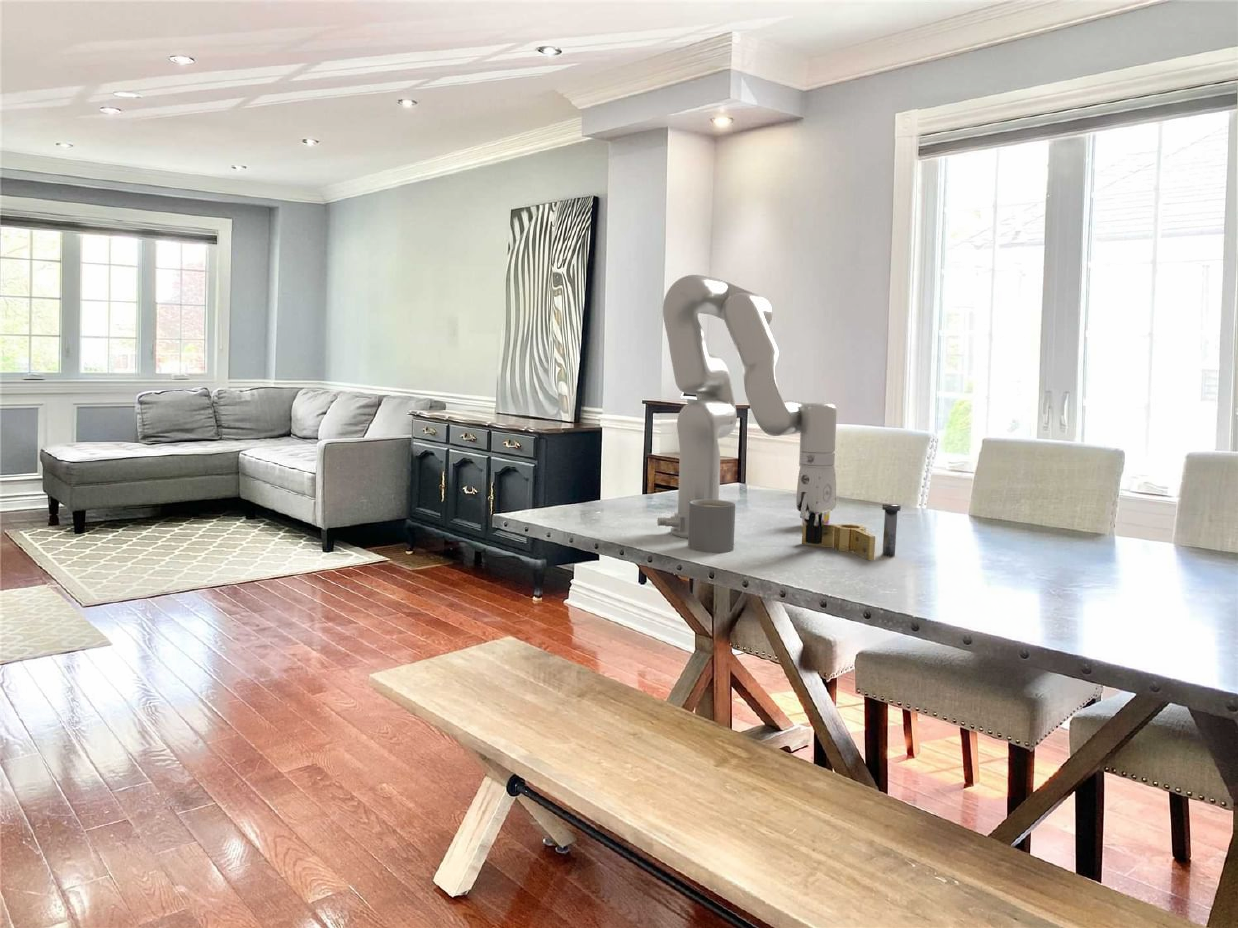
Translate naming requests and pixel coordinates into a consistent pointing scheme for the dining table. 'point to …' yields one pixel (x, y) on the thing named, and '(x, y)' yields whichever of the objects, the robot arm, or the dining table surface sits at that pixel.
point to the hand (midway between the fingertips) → (813, 542)
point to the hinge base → (854, 540)
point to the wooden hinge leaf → (826, 535)
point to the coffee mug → (711, 526)
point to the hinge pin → (890, 528)
